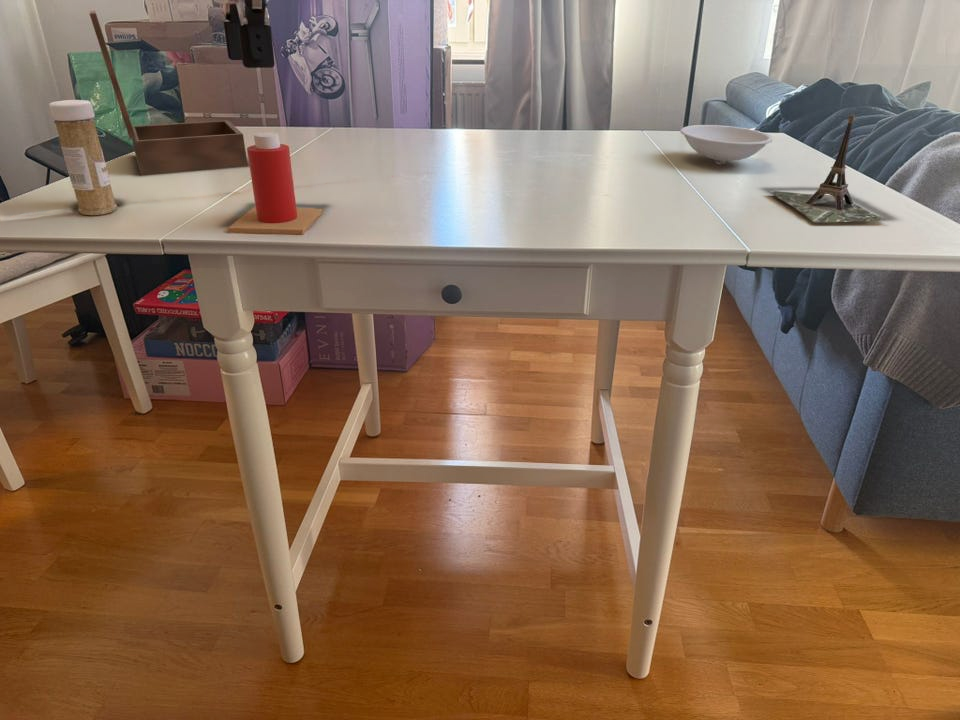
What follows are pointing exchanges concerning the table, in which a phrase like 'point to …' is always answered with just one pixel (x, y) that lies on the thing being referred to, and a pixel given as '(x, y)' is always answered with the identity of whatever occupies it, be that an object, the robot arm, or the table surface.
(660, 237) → the table surface
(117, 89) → the lid
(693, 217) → the table surface
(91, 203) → the sprinkles bottle
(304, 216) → the trivet
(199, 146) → the wooden storage tray
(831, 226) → the table surface
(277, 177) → the ketchup
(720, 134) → the dish
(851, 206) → the eiffel tower figurine
